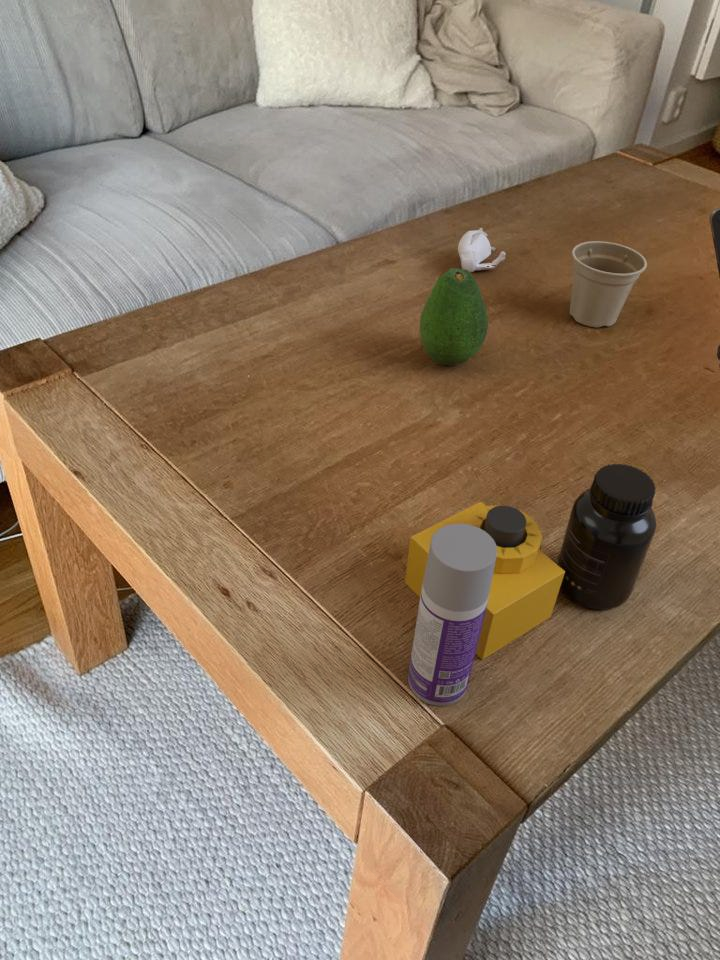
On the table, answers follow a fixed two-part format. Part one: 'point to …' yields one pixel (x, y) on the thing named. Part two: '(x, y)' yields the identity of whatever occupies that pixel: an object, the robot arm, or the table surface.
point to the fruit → (454, 319)
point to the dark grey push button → (505, 526)
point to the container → (451, 612)
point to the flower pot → (602, 281)
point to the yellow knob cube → (500, 580)
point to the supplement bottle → (608, 537)
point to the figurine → (476, 251)
